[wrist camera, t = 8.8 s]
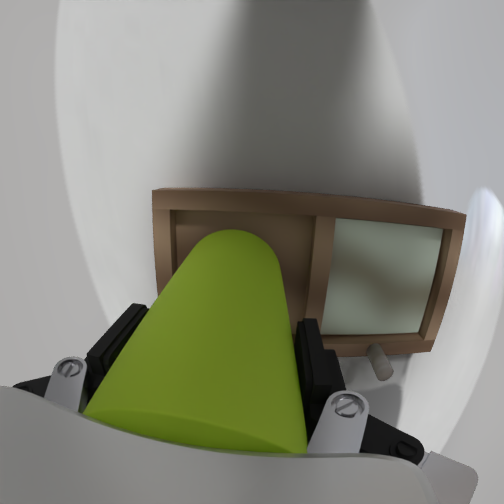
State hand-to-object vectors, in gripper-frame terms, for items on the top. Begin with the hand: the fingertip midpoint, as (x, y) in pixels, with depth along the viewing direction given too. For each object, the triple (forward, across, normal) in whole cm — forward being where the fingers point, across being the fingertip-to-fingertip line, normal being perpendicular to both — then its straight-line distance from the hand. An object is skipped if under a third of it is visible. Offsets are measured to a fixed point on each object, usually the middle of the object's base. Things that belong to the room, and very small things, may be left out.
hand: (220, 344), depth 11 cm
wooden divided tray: (+9, -5, 0) cm, 11 cm away
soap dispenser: (+7, 0, 0) cm, 7 cm away
